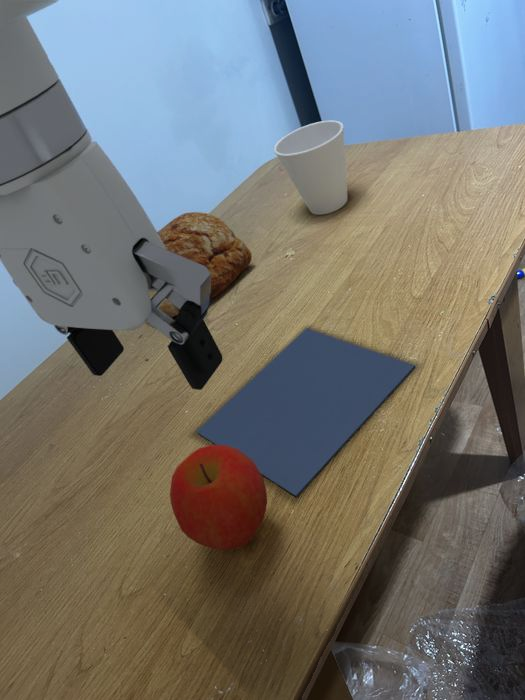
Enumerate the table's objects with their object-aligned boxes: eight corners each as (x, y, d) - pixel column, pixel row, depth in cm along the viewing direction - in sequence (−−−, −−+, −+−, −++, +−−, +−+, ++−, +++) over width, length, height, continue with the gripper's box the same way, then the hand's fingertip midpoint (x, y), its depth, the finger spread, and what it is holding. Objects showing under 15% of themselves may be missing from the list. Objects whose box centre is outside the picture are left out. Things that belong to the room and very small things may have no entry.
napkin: (415, 367, 64) (415, 365, 64) (296, 497, 56) (295, 495, 56) (307, 329, 76) (306, 328, 76) (197, 433, 68) (196, 431, 68)
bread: (259, 265, 94) (237, 211, 88) (178, 335, 86) (147, 281, 80) (187, 248, 108) (163, 201, 102) (112, 307, 101) (81, 259, 95)
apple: (273, 583, 50) (226, 512, 44) (190, 574, 54) (135, 507, 47) (296, 499, 56) (257, 425, 50) (219, 496, 60) (175, 427, 53)
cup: (287, 226, 101) (263, 160, 93) (308, 191, 108) (287, 128, 101) (351, 218, 95) (331, 146, 87) (369, 182, 102) (351, 114, 95)
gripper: (-115, 192, 34) (47, 392, 44) (73, 157, 24) (226, 424, 34) (-21, 133, 38) (107, 328, 49) (170, 84, 29) (280, 341, 39)
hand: (156, 368), depth 41 cm, fingers open, 9 cm apart
